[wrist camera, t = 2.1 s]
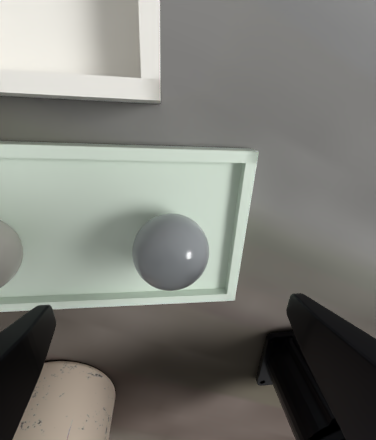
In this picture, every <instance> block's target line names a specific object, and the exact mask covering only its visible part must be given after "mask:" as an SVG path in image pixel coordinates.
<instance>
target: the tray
mask: <svg viewBox="0 0 376 440" xmlns="http://www.w3.org/2000/svg"><path fill="white" fill-rule="evenodd" d="M258 154H259V151H256V150H254V149H251V148H221V147H188V146H155V145H122V144H89V143H55V142H22V141H0V220H1V221H3V222H5V223H7V224H8V225H9V226H11V227H12V228H13V229H14V230H15V231H16V232H17V234H18V235H19V237H20V239H21V241H22V244H23V251H24V255H23V260H22V264H21V266H20V268H19V270H18V272H17V273H16V274H15V276H14V277H13V278H12V279H11V280H10V281H9V282H8V283H7V284H6V285H4V286H3V287H1V288H0V312H9V311H29V310H32V309H33V308H34V307H36V306H38V305H51V306H52V309H70V308H91V307H112V306H132V305H153V304H173V303H194V302H214V301H235V295H236V289H237V282H238V276H239V270H240V264H241V258H242V252H243V246H244V239H245V233H246V227H247V221H248V215H249V209H250V203H251V197H252V190H253V184H254V178H255V172H256V166H257V160H258ZM166 213H176V214H181V215H184V216H186V217H189V218H190V219H192V220H194V221H195V222H196V223H197V224H198V225H199V226H200V227H201V228H202V230H203V231H204V233H205V235H206V237H207V240H208V244H209V259H208V263H207V266H206V268H205V270H204V272H203V274H202V275H201V276H200V278H199V279H198V280H197V281H196V282H194V283H193V284H192V285H190V286H188V287H186V288H184V289H180V290H176V291H165V290H160V289H157V288H155V287H152V286H151V285H149V284H148V283H146V282H145V281H144V280H143V279H142V278H141V277H140V275H139V274H138V272H137V270H136V268H135V266H134V263H133V258H132V247H133V242H134V239H135V236H136V234H137V232H138V231H139V230H140V228H141V227H142V226H143V225H144V224H145V223H146V222H147V221H148V220H150V219H152V218H153V217H156V216H158V215H161V214H166Z"/></svg>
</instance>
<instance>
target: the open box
mask: <svg viewBox="0 0 376 440" xmlns="http://www.w3.org/2000/svg"><path fill="white" fill-rule="evenodd" d="M0 96H14V97H34V98H53V99H73V100H93V101H112V102H132V103H152V104H161V94H160V0H0Z"/></svg>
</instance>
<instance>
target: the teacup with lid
mask: <svg viewBox="0 0 376 440" xmlns="http://www.w3.org/2000/svg"><path fill="white" fill-rule="evenodd" d="M114 402H115V388H114V385H113V383H112V382H111V380H110V379H109V378H108V377H107V376H106V375H105V374H104V373H103V372H101V371H100V370H98V369H96V368H94V367H92V366H89V365H86V364H82V363H78V362H70V361H53V362H46V363H44V365H43V368H42V371H41V374H40V377H39V379H38V382H37V384H36V386H35V389H34V391H33V393H32V396H31V398H30V400H29V402H28V405H27V407H26V409H25V412H24V414H23V416H22V419H21V421H20V423H19V426H18V428H17V430H16V433H15V435H14V437H13V440H108V439H109V433H110V427H111V421H112V414H113V408H114Z"/></svg>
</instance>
